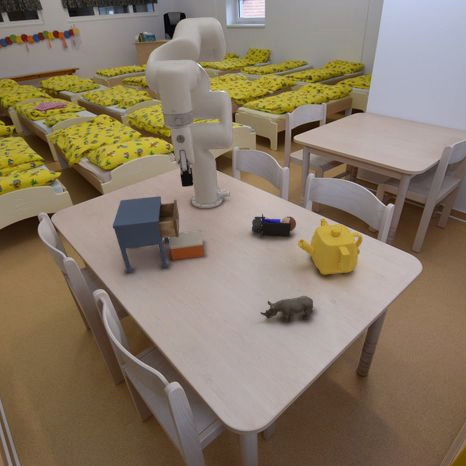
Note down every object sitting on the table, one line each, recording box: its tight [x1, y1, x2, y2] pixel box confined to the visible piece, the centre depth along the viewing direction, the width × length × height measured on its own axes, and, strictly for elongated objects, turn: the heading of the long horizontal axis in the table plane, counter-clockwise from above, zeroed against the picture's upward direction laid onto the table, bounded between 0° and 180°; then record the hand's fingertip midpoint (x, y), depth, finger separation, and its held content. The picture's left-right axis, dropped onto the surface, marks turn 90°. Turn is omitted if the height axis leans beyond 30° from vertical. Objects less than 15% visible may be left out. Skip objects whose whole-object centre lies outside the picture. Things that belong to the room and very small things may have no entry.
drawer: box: [158, 199, 180, 239], centre depth 102 cm, size 10×13×6 cm
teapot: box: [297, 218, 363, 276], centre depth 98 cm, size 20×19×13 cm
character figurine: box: [251, 213, 297, 238], centre depth 114 cm, size 8×7×15 cm
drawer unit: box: [112, 195, 170, 274], centre depth 104 cm, size 12×15×17 cm
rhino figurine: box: [260, 295, 314, 323], centre depth 83 cm, size 4×14×6 cm, turn 97°
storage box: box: [168, 229, 205, 261], centre depth 109 cm, size 10×8×5 cm
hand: (187, 182), depth 97 cm, fingers closed
